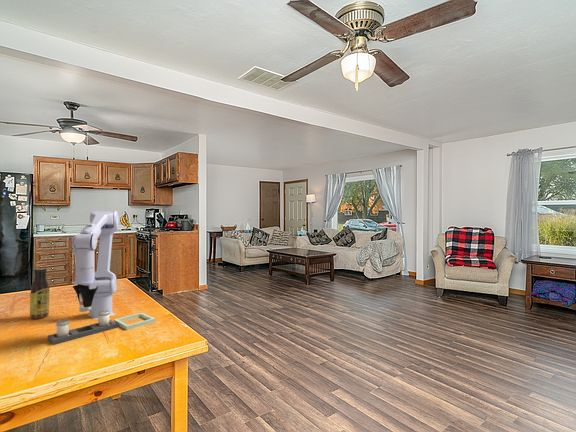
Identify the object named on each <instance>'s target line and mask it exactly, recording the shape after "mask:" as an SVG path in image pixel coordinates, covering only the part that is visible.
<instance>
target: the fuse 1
mask: <svg viewBox="0 0 576 432" xmlns="http://www.w3.org/2000/svg"><path fill="white" fill-rule="evenodd" d="M55 324H56V325H55V327H56V333H57V337H56V338H61V337H65V336H69V330H70V319H60V320H57V321H56V322H55Z"/></svg>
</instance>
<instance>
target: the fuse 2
mask: <svg viewBox="0 0 576 432" xmlns="http://www.w3.org/2000/svg"><path fill="white" fill-rule="evenodd" d="M97 320H98V323H99V327H103V326H107V325H110V324H109V320H110V316H109V310H104V311H100V312H98V319H97Z"/></svg>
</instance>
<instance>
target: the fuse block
mask: <svg viewBox="0 0 576 432" xmlns="http://www.w3.org/2000/svg"><path fill="white" fill-rule="evenodd" d="M109 324H110V325H107V326H103V327H99V322H96V323H92V324H87V325H83V326H81V327H75V328H72V329H69V336H65V337H61V338H56V337H57V332H55V333H51V334H48V335H47V340H48V341H49V342H50V343H51V344H52V345H53V346H55V345H59V344H64V343H67V342H71V341H74V340H79V339H81V338H85V337H89V336H92V335H96V334H99V333H104V332H107V331H111V330H114V329H118V327H119V326H118V325H117V323H116V322H114V320H112V319H109Z"/></svg>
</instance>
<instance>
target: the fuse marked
mask: <svg viewBox="0 0 576 432" xmlns="http://www.w3.org/2000/svg"><path fill="white" fill-rule="evenodd" d="M79 299H80V301H78V305H79V312H80V313H82V312H90V310H91V307H86V308H85V307H84V305H83V300H82V296H81V293H80V294H79Z"/></svg>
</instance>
